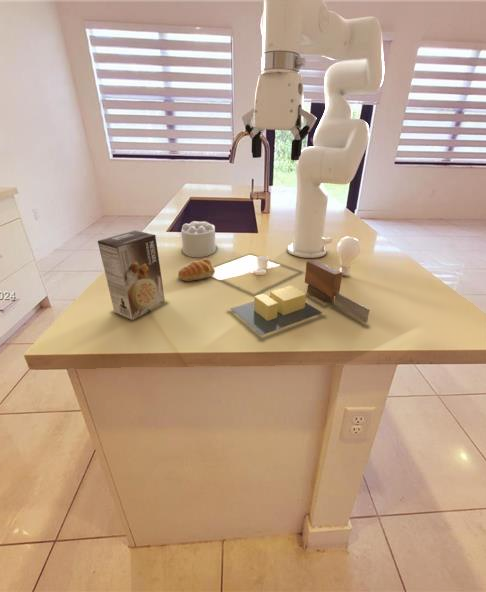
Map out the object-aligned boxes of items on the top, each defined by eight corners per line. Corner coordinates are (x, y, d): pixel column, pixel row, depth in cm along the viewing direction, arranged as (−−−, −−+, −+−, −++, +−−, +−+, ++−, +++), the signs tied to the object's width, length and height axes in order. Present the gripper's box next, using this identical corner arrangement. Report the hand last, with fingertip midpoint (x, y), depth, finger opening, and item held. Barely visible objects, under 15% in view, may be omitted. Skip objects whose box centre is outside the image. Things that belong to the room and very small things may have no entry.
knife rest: (315, 293, 77) (316, 282, 76) (333, 303, 73) (335, 291, 72) (306, 296, 76) (307, 285, 74) (324, 306, 71) (325, 294, 70)
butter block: (290, 298, 72) (291, 285, 71) (304, 308, 69) (306, 293, 67) (269, 305, 69) (270, 291, 68) (283, 315, 66) (284, 300, 64)
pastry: (186, 285, 79) (184, 272, 78) (174, 276, 84) (171, 263, 82) (217, 274, 85) (216, 261, 83) (204, 267, 89) (203, 254, 87)
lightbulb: (359, 275, 88) (367, 237, 83) (348, 282, 84) (355, 242, 78) (339, 269, 92) (345, 232, 86) (327, 275, 87) (333, 236, 82)
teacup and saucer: (261, 280, 83) (262, 266, 81) (240, 271, 88) (240, 258, 86) (282, 271, 89) (283, 257, 87) (261, 263, 94) (261, 250, 92)
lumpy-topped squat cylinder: (216, 244, 109) (215, 219, 105) (213, 257, 98) (212, 230, 93) (186, 243, 109) (184, 218, 105) (179, 257, 97) (177, 229, 93)
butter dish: (287, 294, 76) (287, 291, 76) (322, 316, 68) (322, 312, 67) (230, 312, 68) (230, 308, 68) (261, 339, 60) (261, 335, 59)
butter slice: (263, 307, 69) (264, 293, 67) (277, 317, 65) (278, 302, 63) (253, 310, 67) (254, 296, 66) (267, 321, 64) (268, 306, 62)
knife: (310, 291, 78) (314, 259, 74) (369, 324, 65) (377, 288, 61) (303, 293, 77) (306, 261, 73) (361, 327, 64) (369, 290, 60)
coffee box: (146, 295, 74) (136, 229, 67) (166, 303, 71) (157, 234, 64) (112, 312, 67) (96, 240, 60) (132, 321, 64) (118, 246, 57)
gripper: (327, 67, 63) (317, 160, 71) (252, 72, 70) (250, 156, 78) (314, 60, 57) (304, 162, 65) (234, 66, 64) (234, 157, 72)
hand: (275, 158), depth 71 cm, fingers open, 9 cm apart
